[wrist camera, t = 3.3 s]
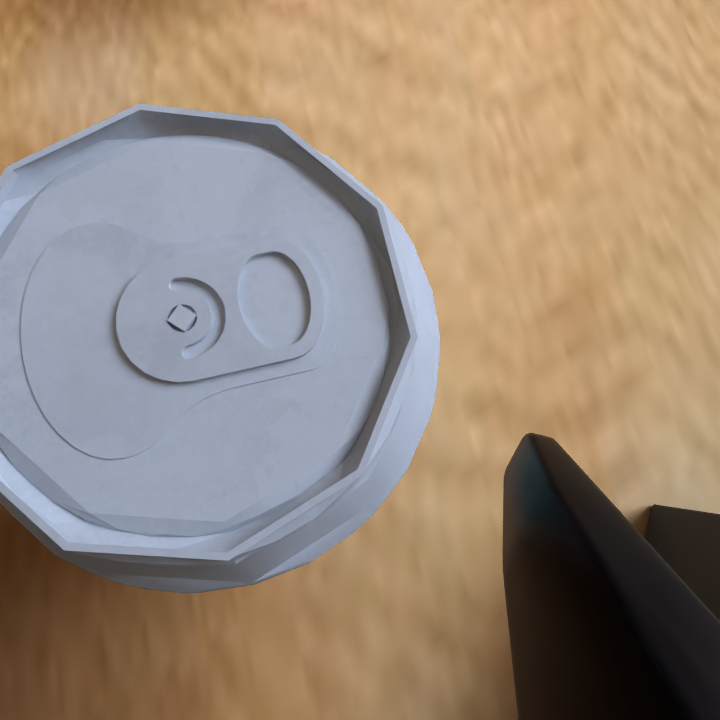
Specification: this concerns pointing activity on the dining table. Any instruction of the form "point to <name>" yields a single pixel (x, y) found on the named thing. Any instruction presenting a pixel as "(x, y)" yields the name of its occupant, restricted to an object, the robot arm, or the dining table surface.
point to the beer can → (203, 349)
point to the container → (689, 549)
